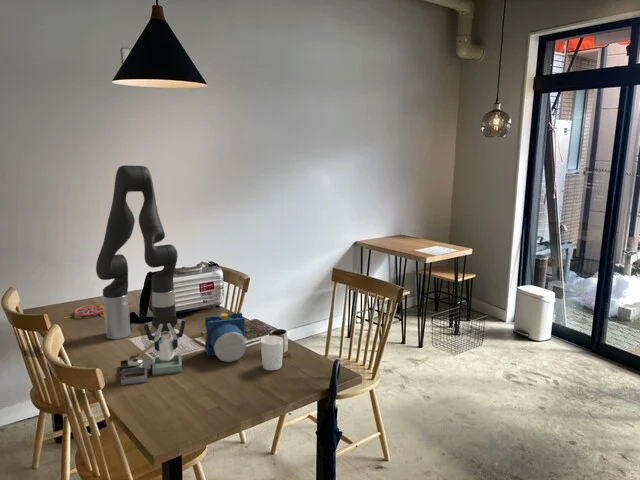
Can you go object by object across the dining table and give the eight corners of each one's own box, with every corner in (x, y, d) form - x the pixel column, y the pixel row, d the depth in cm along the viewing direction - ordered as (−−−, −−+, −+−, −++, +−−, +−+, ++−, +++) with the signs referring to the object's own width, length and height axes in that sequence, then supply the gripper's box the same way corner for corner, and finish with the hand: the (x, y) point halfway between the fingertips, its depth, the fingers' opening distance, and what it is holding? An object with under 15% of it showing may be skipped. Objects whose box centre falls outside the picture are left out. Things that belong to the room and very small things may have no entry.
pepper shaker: (174, 356, 180) (173, 331, 178) (169, 361, 176) (168, 335, 174) (164, 355, 181) (163, 330, 179) (158, 360, 177) (157, 334, 175)
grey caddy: (121, 366, 180) (120, 355, 179) (151, 362, 183) (150, 352, 182) (118, 385, 166) (117, 374, 165) (150, 381, 169) (149, 370, 168)
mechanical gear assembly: (61, 314, 233) (67, 325, 221) (60, 305, 232) (67, 316, 220) (128, 302, 250) (138, 312, 239) (128, 294, 249) (137, 303, 238)
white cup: (286, 363, 183) (286, 337, 181) (278, 372, 176) (277, 345, 174) (266, 360, 186) (266, 334, 184) (257, 369, 179) (256, 342, 177)
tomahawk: (145, 362, 186) (145, 360, 185) (129, 359, 187) (129, 356, 187) (176, 340, 205) (176, 337, 205) (161, 337, 207) (161, 334, 207)
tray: (153, 364, 182) (152, 357, 182) (180, 360, 185) (180, 354, 184) (152, 375, 173) (152, 368, 173) (182, 372, 176) (181, 365, 175)
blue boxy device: (203, 349, 194) (203, 314, 189) (242, 344, 199) (243, 309, 194) (210, 368, 182) (209, 331, 177) (251, 362, 188) (252, 325, 183)
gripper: (184, 297, 180) (187, 343, 183) (141, 301, 176) (144, 347, 179) (186, 304, 173) (188, 351, 176) (141, 308, 169) (144, 356, 172)
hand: (166, 349), depth 178 cm, fingers closed on pepper shaker, 5 cm apart
